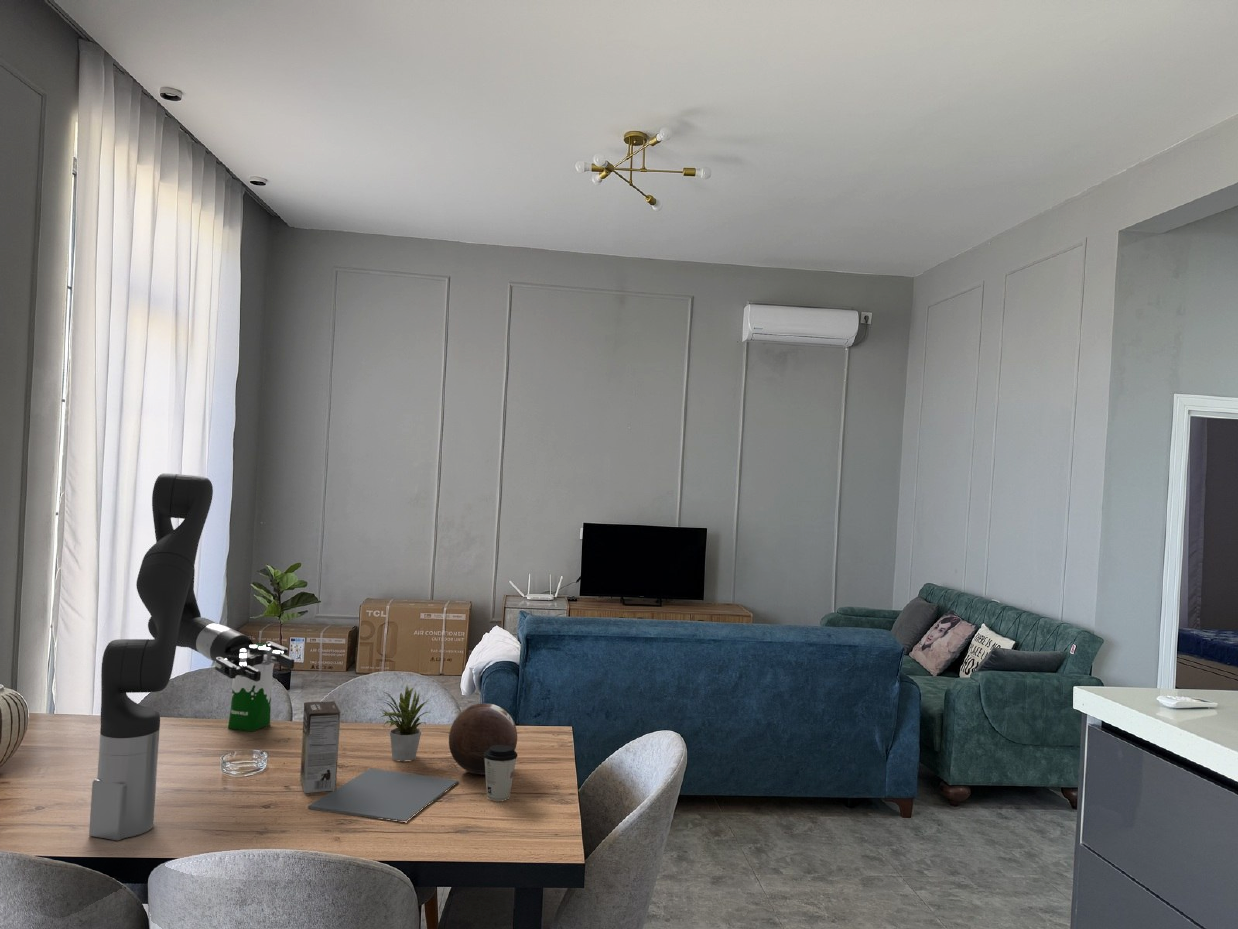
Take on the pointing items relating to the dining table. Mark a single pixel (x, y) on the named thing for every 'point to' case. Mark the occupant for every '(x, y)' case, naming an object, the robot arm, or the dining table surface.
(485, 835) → the dining table surface
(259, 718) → the milk carton
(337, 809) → the rubber mat
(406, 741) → the house plant
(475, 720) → the wooden sphere
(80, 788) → the dining table surface
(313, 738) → the coffee box
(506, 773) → the coffee cup
